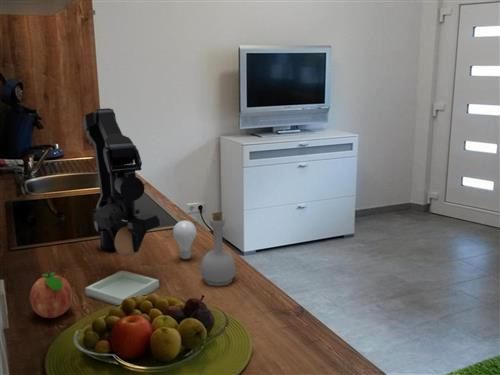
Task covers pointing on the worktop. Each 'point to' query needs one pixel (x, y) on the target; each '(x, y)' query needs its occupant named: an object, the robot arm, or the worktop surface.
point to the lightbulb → (184, 237)
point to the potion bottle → (218, 257)
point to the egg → (124, 242)
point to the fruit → (51, 295)
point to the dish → (121, 287)
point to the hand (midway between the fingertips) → (127, 249)
